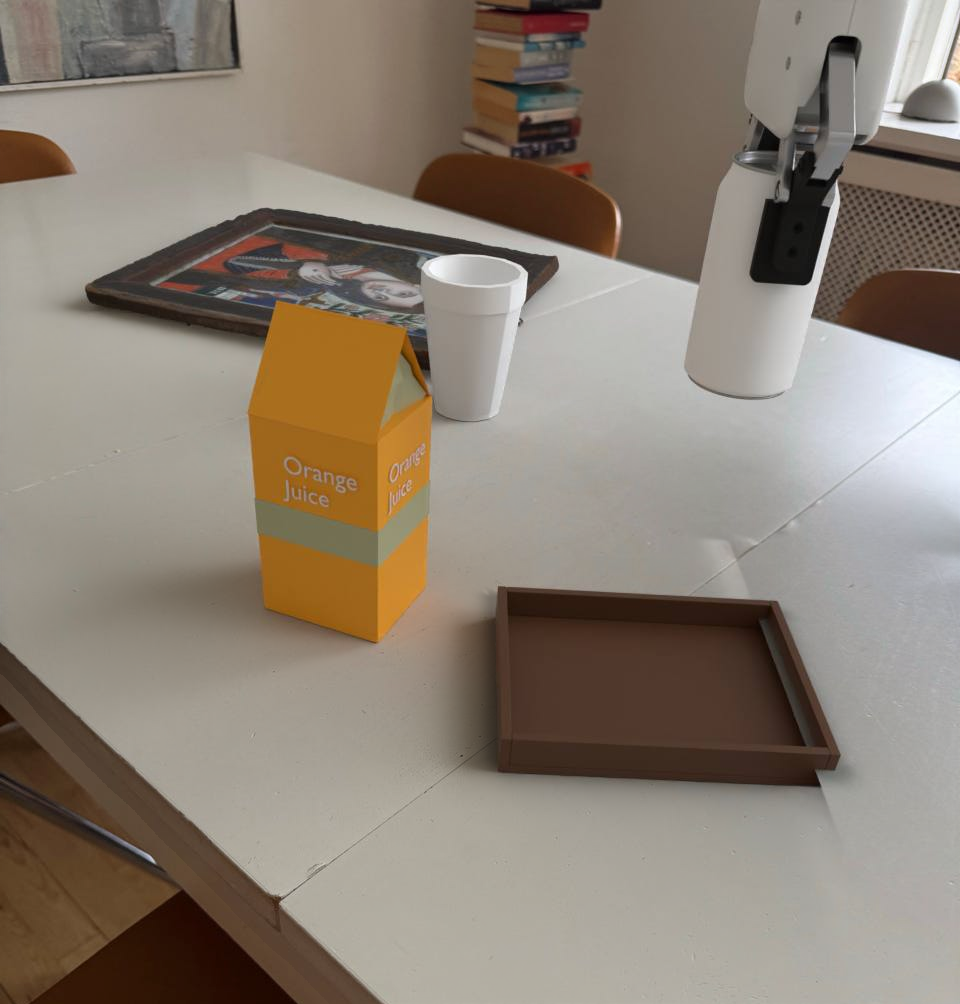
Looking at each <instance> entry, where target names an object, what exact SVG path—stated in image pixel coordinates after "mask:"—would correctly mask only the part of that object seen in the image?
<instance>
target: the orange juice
mask: <svg viewBox="0 0 960 1004" xmlns="http://www.w3.org/2000/svg"><path fill="white" fill-rule="evenodd" d="M406 330H407V328H404V327H399V326H395V325H390V324H385V323H381V322H376V321H371V320H367V319H362V318H357V317H353V316H348V315H343V314H339V313H334V312H329V311H325V310H320V309H315V308H311V307H306V306H301V305H297V304H292V303H287V302H283V301H278V300H276V304H275V308H274V312H273V316H272V319H271V323H270V327H269V331H268V335H267V338H265V343H264V347H263V350H262V355H261V358H260V362H259V366H258V370H257V374H256V378H255V381H254V386H253V389H252V393H251V397H250V400H249V404H248V408H247V412H246V414H247V416H248V417H247V418H248V427H249V438H250V451H251V452H250V453H251V461H252V462H251V463H252V474H253V475H252V476H253V483H254V484H253V487H254V499H253V500H254V508H255V520H256V521H255V522H256V532H257V534H258V545H259V557H260V569H261V571H260V572H261V582H262V593H263V605H264V609H267V610H269V611H272V612H277V613H279V614H283V615H286V616H290V617H292V618H296V619H299V620H302V621H306V622H308V623H311V624H315V625H319V626H321V627H324V628H327V629H331V630H334V631H338V632H340V633H344V634H347V635H351V636H354V637H356V638H360V639H362V640H366V641H370V642H373V643H376V644H378V643H379V642H381V640H382V639H383V638H384V636H385V635H387V633H388V632H389V631H390V630H391V628H392V627H393V626H394V625H395V623H396V622H397V621H398V620H399V619H400V618H401V617H402V615H404V613H405V612H406V611H407V610H408V608H410V606H411V605H412V604H413V602H414V601H415V600H416V599H417V598H418V597H419V595H420V594H421V593H422V592H423V591H424V589H426V587H427V564H428V562H427V561H428V537H429V536H428V535H429V534H428V533H429V514H430V501H431V500H430V498H431V497H430V496H431V479H430V474H431V470H430V469H431V447H432V445H431V444H432V421H433V420H432V417H433V394H432V395H431V394H430V391H429V389H428V386H427V382H426V381H425V377H424V375H423V372H422V369H420V367H419V364H418V361H417V359H416V356H415V353H414V351H413V348H412V345H411V343H410V340H409V337H408V335H407V332H406Z"/></svg>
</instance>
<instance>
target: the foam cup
mask: <svg viewBox="0 0 960 1004" xmlns="http://www.w3.org/2000/svg"><path fill="white" fill-rule="evenodd" d="M527 277H528V272H527V271H526V270H525V269H524V268H523V267H522V266H521V265H518V264H516V263H513V262H511V261H508V260H506V259H501V258H496V257H491V256H485V255H469V254H457V255H447V256H440V257H437V258H434V259H431V260H428V261H426V262H425V264H424V265H423V266H422V268H421V296H422V297H423V301H424V311H425V321H426V331H427V341H428V351H429V361H430V370H431V371H430V379H431V389H432V401H433V402H434V403H433V407H434V408H435V410H436V411H437V413H438V414H440V415H442V416H444V417H446V418H448V419H451V420H456V421H461V422H479V421H480V422H481V421H486V420H490V419H492V418H494V417H495V416H497V415H498V414H499V411H500V408H501V404H502V400H503V395H504V391H505V386H506V383H507V377H508V373H509V368H510V363H511V360H512V359H511V358H512V355H513V349H514V344H515V340H516V335H517V332H518V331H517V330H518V326H519V324H518V322H520V320H519V317H520V318H521V312H522V308H523V307H524V305H525V304H524V302H525V299H526V289H527ZM523 304H524V305H523Z"/></svg>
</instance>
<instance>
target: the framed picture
mask: <svg viewBox="0 0 960 1004" xmlns="http://www.w3.org/2000/svg"><path fill="white" fill-rule="evenodd" d="M457 254H469V255H485V256H491V257H496V258H501V259H506V260H508V261H511V262H513V263H516V264H518V265H521V266H522V267H523V268H524V269H525V270H526V271H527V272H528V277H527V289H526V299H525V302H524V304H523V306H524V305H526V303H527V302H529V301H530V299H532V297H533V296H534V295H535V294H536V293H537V291H539V290H540V289H542V287H544V286H545V285H546V284H547V283H548V282H549V281H550V280H551V279H552V278H553V277H554V276H556V273H557V272H558V271H559V268H560V263H559V259H558V258H559V257H558V255H545V254H539V253H531V252H526V251H522V250H517V249H511V248H508V247H503V246H495V245H493V246H492V245H490V244H484V243H481V242H477V241H471V240H467V239H463V238H460V237H459V238H458V237H452V236H445V235H440V234H435V233H429V232H428V233H427V232H422V231H418V230H417V231H416V230H412V229H405V228H401V227H394V226H393V227H392V226H386V225H382V224H377V225H376V224H374V223H363V222H361V221H357V220H349V219H347V218H343V217H338V216H329V215H324V214H319V213H314V212H311V213H310V212H305V211H300V210H294V209H285V208H271V207H261V208H257V209H254V210H252V211H250V212H247V213H246V214H239V215H237V216H236V217H235V218H234V219H226V220H224V221H222V222H220V223H217V224H216V225H215V226H210V227H207V228H205V229H203V230H200V231H199V232H196V233H194V234H192V235H189V236H187V237H186V238H183V239H180V240H178V241H177V242H174V243H172V244H170V245H168V246H166V247H163V248H161V249H159V250H156V251H154V252H153V253H151V254H149V255H147V256H145V257H141V258H139V259H136V260H135V261H134V262H132V263H129V264H126V265H124V266H122V267H119V268H118V269H116V270H114V271H113V270H112V271H111V272H108V273H107V274H103V275H102V276H101V277H98V278H95V279H94V280H93V281H91V282H88V283H87V284H86V285H85V286H84V291H85V295H86V298H87V300H88V302H89V304H93V305H96V306H99V307H104V308H108V309H113V310H118V311H123V312H127V313H131V314H132V313H133V314H137V315H142V316H147V317H152V318H157V319H162V320H167V321H170V322H171V321H173V322H177V323H181V324H185V325H186V326H187V327H190V326H198V327H202V328H207V329H212V330H217V331H222V332H228V333H235V334H242V335H247V336H252V337H257V338H262V339H267V335H268V331H269V327H270V323H271V319H272V316H273V312H274V308H275V304H276V300H278V301H283V302H287V303H292V304H297V305H301V306H306V307H311V308H315V309H320V310H325V311H329V312H334V313H339V314H343V315H348V316H353V317H357V318H362V319H367V320H371V321H376V322H381V323H385V324H390V325H395V326H399V327H404V328H407V330H406V332H407V335H408V337H409V340H410V343H411V345H412V348H413V351H414V353H415V356H416V359H417V361H418V364H419V367H420V369H421V371H422V370H424V371H427V372H429V371H430V372H431V370H430V361H429V351H428V341H427V331H426V321H425V311H424V301H423V297H422V296H421V268H422V266H423V265H424V264H425V262H426V261H428V260H431V259H434V258H437V257H440V256H447V255H457ZM524 322H525V321H524V320H523V319H522V317H521V316H520V317H519V322H518V325H523V324H524Z"/></svg>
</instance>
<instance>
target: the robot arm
mask: <svg viewBox="0 0 960 1004" xmlns="http://www.w3.org/2000/svg"><path fill="white" fill-rule="evenodd" d="M759 1H760V2H759V5H758V10H757V15H756V20H755V25H754V30H753V35H752V40H751V45H750V50H749V56H748V61H747V66H746V74H745V82H744V90H743V100H744V101H743V103H744V106H745V107H746V109H747V110H748V111H749V112H750V118H749V119H748V125H749V126H748V129H747V131H746V136H745V139H744V142H743V145H742V148H741V149H742V150H741V152H744V151H779V153H778V161H777V170H776V178H775V187H774V196H773V199H765V204H764V208H763V213H762V217H761V222H760V226H759V231H758V235H757V240H756V244H755V249H754V253H753V258H752V262H751V267H750V272H749V274H750V277H751V278H752V280H753V281H754V282H757V283H771V284H786V285H800V286H805V285H807V284H809V283H810V282H811V280H812V277H813V273H814V269H815V265H816V262H817V258H818V254H819V250H820V246H821V242H822V238H823V235H824V231H825V227H826V223H827V219H828V215H829V212H830V208H831V205H832V204H833V201H834V198H835V193H836V186H837V184H838V178H839V176H841V175H842V173H843V171H844V168H845V166H844V165H843V164H844V161H845V159H846V158H847V156H848V154H849V153H850V151H851V149H852V147H853V145H856V146H864V145H866V144H867V143H868V142H871V140H872V139H874V137H875V135H877V133H878V130H879V127H880V125H881V124H880V123H881V121H882V116H883V113H884V112H883V111H884V109H885V104H886V100H887V97H888V91H889V89H890V88H889V87H890V83H891V78H892V75H893V71H894V67H895V63H896V62H895V61H896V57H897V53H898V49H899V44H900V40H901V36H902V32H903V27H904V23H905V18H906V13H907V10H908V6H909V5H908V4H909V0H759ZM807 127H818V131H817V132H813V131H806V128H807ZM798 152H803V154H802V155H803V156H802V157H801V158H800V159H799V163H798V164H797V166H796V168H795V170H794V161H795V153H796V154H798ZM793 170H794V171H793Z"/></svg>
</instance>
